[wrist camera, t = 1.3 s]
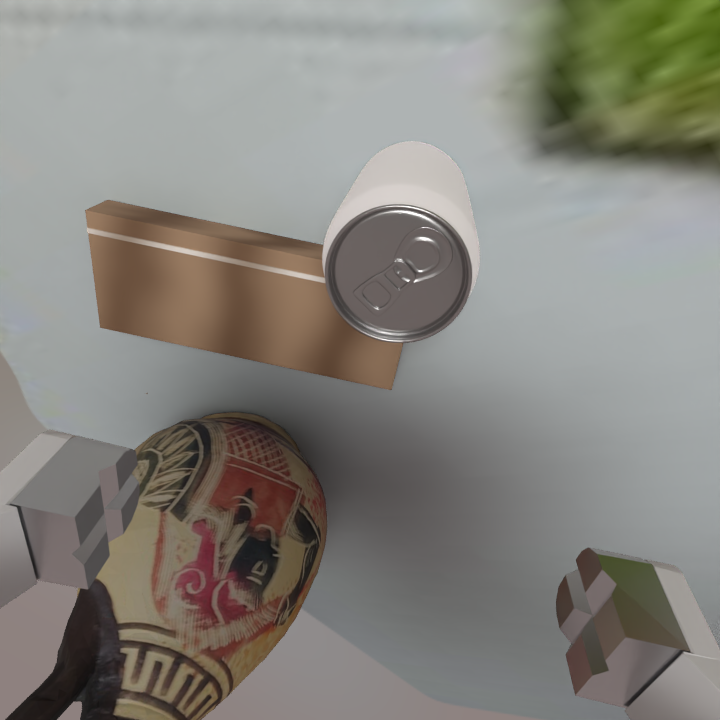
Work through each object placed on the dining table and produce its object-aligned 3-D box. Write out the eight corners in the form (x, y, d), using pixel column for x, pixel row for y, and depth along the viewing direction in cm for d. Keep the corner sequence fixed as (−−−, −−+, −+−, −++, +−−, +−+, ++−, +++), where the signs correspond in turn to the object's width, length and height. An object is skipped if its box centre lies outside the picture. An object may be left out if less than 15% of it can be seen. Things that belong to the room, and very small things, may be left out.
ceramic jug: (383, 462, 40) (295, 1161, 15) (264, 538, 47) (67, 1104, 22) (216, 320, 35) (-339, 1010, 10) (110, 428, 42) (-376, 998, 17)
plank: (420, 265, 31) (419, 281, 29) (393, 370, 35) (391, 391, 33) (107, 199, 32) (84, 210, 29) (119, 311, 36) (99, 328, 34)
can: (490, 202, 29) (520, 285, 19) (406, 273, 32) (392, 379, 21) (414, 112, 27) (402, 150, 17) (332, 197, 30) (279, 273, 20)
